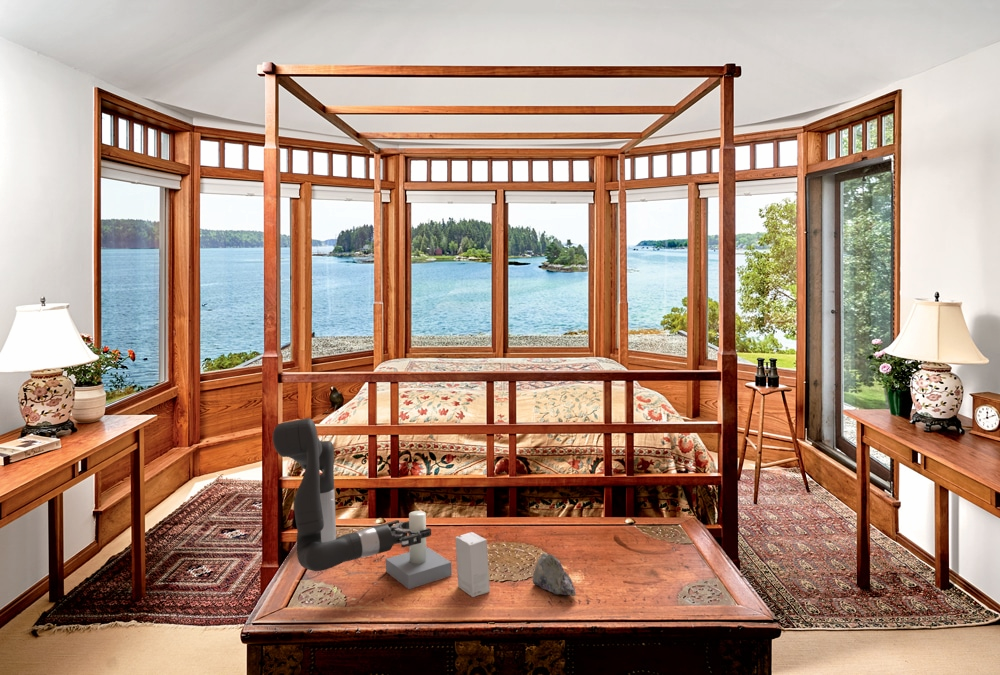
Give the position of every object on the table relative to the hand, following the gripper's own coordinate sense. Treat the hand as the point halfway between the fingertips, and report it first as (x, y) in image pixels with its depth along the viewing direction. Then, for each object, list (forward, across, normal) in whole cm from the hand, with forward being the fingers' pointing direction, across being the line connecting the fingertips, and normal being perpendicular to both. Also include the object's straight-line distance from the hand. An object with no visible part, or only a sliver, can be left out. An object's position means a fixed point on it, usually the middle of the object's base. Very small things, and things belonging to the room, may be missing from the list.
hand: (423, 527), depth 191 cm
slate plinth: (-2, 0, +14) cm, 14 cm away
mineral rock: (+22, -33, +14) cm, 42 cm away
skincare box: (+5, -18, +14) cm, 23 cm away
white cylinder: (-2, 0, +10) cm, 10 cm away
